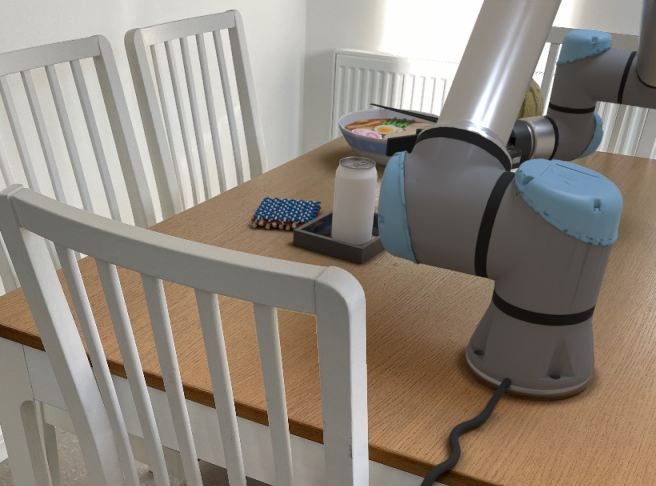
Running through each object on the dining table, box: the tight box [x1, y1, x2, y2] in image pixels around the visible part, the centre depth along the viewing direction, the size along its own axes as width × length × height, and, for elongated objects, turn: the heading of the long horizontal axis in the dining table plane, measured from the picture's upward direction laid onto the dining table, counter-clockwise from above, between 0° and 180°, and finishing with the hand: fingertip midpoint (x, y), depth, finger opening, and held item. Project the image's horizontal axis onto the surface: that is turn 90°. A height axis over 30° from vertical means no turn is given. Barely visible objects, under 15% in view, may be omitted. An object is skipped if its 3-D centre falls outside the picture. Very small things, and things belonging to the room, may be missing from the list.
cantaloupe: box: [517, 77, 545, 119], centre depth 168 cm, size 15×15×15 cm
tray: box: [292, 208, 385, 265], centre depth 132 cm, size 15×13×2 cm
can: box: [331, 156, 378, 246], centre depth 129 cm, size 6×6×12 cm
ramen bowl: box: [337, 102, 440, 168], centre depth 162 cm, size 25×23×8 cm
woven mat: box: [251, 196, 322, 231], centre depth 139 cm, size 10×11×2 cm
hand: (410, 159), depth 129 cm, fingers open, 13 cm apart
